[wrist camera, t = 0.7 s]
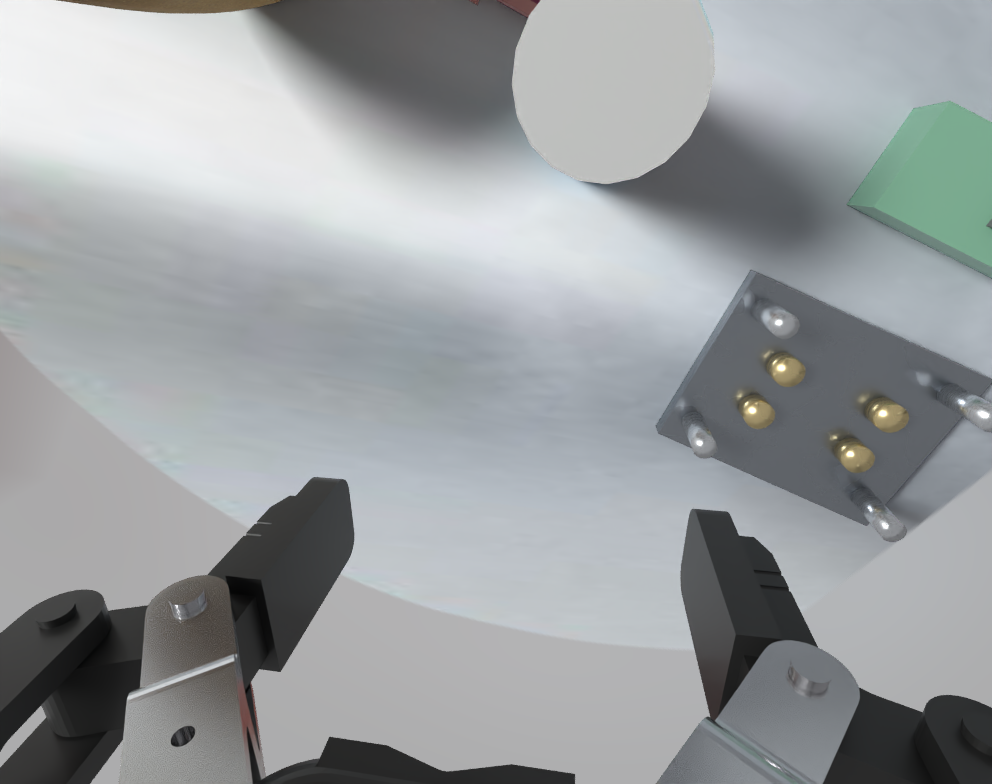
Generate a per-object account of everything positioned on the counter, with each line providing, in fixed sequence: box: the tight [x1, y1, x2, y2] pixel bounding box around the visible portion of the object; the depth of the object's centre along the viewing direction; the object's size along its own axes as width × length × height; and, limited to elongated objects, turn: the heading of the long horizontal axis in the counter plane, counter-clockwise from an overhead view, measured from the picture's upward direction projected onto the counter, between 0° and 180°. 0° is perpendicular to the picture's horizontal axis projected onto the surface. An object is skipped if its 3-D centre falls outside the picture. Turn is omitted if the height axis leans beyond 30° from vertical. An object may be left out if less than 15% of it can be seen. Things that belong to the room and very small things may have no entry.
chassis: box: [656, 270, 992, 542], centre depth 34 cm, size 16×12×5 cm
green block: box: [847, 101, 992, 278], centre depth 29 cm, size 10×6×4 cm, turn 65°
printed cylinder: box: [512, 0, 715, 184], centre depth 25 cm, size 7×7×15 cm
